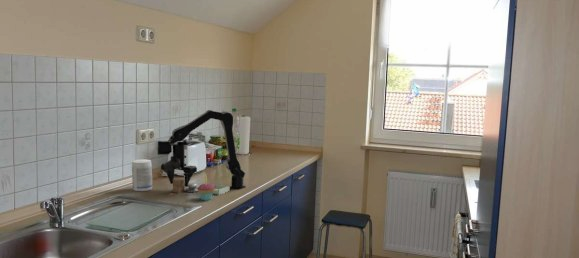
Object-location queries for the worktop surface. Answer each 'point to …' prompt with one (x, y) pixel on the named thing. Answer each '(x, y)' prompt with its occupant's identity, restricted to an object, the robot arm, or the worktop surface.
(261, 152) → the worktop surface
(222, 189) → the tray
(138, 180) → the supplement tub
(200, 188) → the cupcake
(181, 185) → the stop block
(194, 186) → the crank
